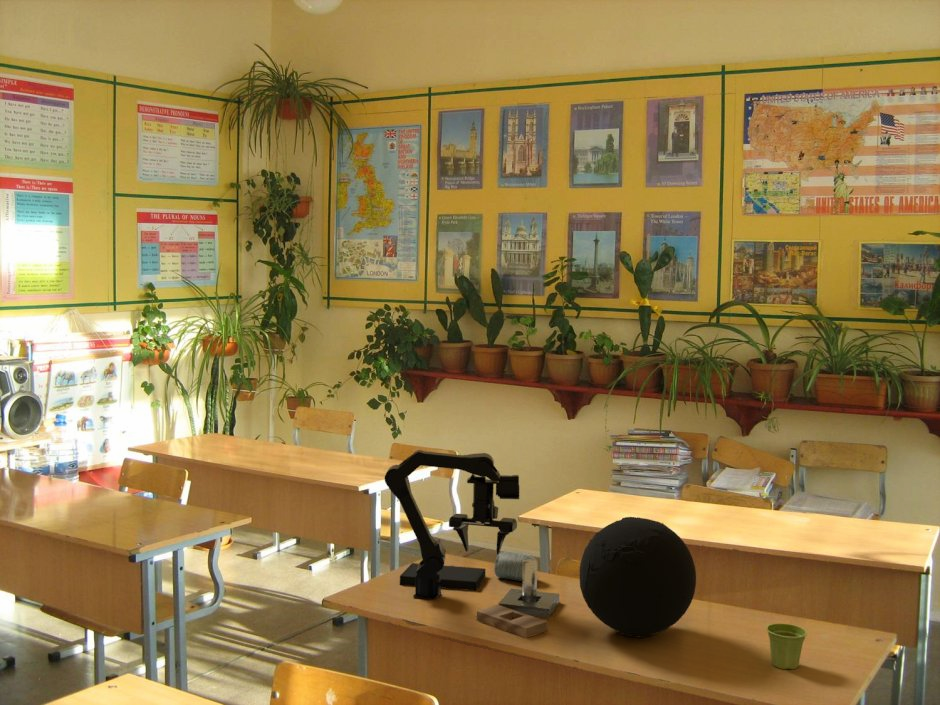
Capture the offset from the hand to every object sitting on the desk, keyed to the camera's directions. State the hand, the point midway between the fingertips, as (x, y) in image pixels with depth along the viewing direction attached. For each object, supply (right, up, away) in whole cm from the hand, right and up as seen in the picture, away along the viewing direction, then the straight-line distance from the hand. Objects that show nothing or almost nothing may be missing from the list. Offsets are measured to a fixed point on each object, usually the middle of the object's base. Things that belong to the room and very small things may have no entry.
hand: (482, 552), depth 292 cm
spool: (+10, -12, +19) cm, 25 cm away
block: (+13, -14, -7) cm, 20 cm away
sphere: (+39, -16, -27) cm, 50 cm away
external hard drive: (-12, -12, +16) cm, 24 cm away
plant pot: (+72, -18, -47) cm, 88 cm away
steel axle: (+13, -14, -7) cm, 20 cm away
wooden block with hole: (+7, -15, -22) cm, 28 cm away
